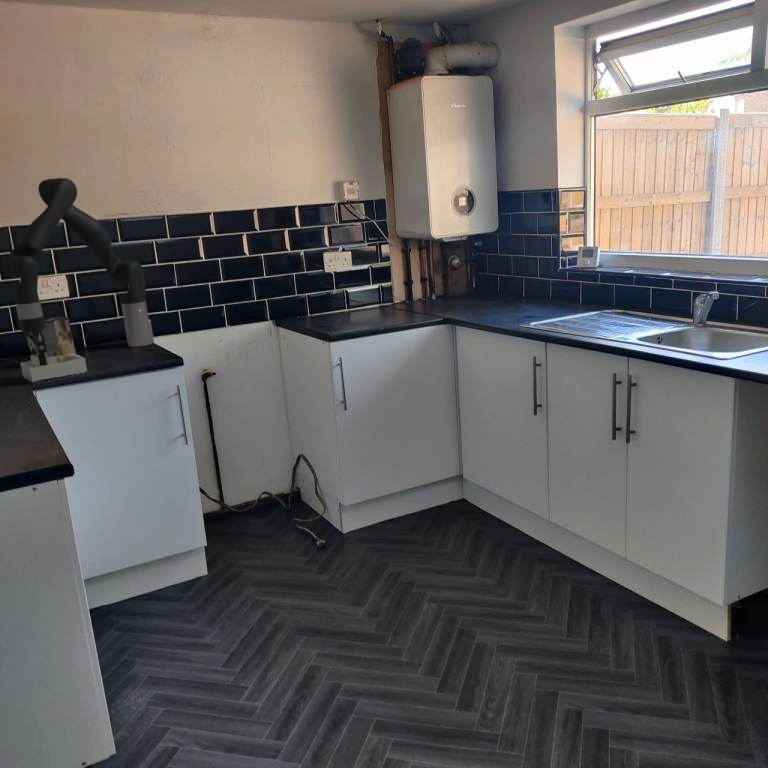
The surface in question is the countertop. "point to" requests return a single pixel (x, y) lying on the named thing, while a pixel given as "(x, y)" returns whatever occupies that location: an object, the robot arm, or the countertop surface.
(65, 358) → the beech cube
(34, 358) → the grey metal cylinder
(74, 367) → the tote
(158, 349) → the countertop surface
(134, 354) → the countertop surface
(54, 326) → the coffee box
